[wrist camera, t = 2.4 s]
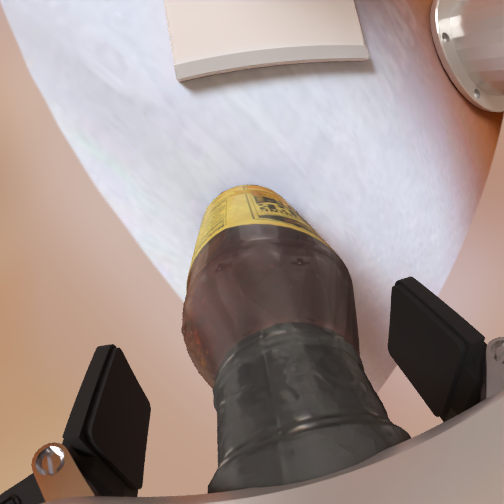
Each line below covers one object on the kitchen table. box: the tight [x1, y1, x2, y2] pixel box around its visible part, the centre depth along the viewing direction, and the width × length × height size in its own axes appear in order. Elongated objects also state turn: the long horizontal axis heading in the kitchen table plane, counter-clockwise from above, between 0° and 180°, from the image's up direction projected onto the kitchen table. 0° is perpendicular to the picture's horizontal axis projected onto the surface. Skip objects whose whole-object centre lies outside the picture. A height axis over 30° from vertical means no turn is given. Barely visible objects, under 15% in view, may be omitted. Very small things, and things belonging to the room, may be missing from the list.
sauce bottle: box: [181, 185, 411, 494], centre depth 13 cm, size 6×6×20 cm
